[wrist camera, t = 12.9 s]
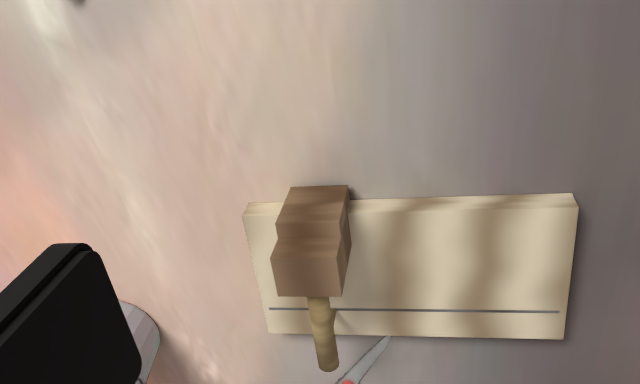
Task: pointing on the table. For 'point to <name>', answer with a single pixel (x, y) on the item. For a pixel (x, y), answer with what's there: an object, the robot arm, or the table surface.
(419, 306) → the maple board
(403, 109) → the table surface
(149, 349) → the mug
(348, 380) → the scissors
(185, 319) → the table surface
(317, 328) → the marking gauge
